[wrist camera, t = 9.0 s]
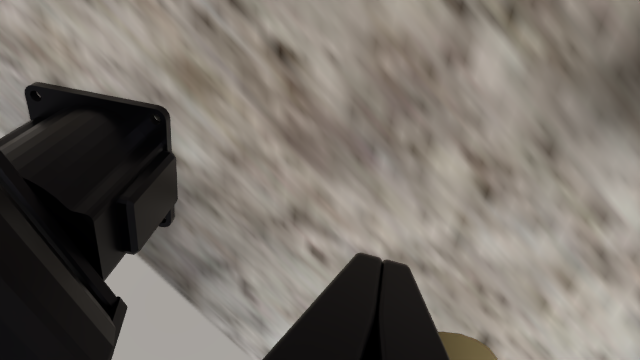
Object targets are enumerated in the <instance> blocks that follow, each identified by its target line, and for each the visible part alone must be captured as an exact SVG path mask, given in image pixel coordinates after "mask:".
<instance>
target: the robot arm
mask: <svg viewBox="0 0 640 360" xmlns="http://www.w3.org/2000/svg"><path fill="white" fill-rule="evenodd" d="M36 91H37V92H38V93H39V94H40V96H41V97H39V96H38V95H37V92H36ZM25 96H26V101H27V105H28V109H29V114H30V118H31V121H29V122H28V123H26V124H24V125H23V126H21V127H19V128H17V129H16V130H14V131H12V132H11V133H9V134H7V135H6V136H4V137H2V138H1V139H0V360H111V359H112V356H113V352H114V349H115V346H116V343H117V339H118V336H119V333H120V330H121V327H122V323H123V320H124V317H125V314H126V310H127V305H126V304H125V303H124V302H123V300H122V299H121V298H120V297H116V296H115V294H114V293H113V292H112V291H111V289H110V288H109V287H108V286H107V284H106V283H105V282H104V281H105V279H106V278H107V277H108V275H109V274H110V273H111V272H112V271H113V269H114V268H115V267H116V265H117V264H118V263H119V262H120V260H121V259H122V258H123V256H124V255H125V254H126V253H128V254H133V255H134V254H136V253H137V252H138V251H140V250H141V248H142V247H143V246H144V244H145V243H146V242H147V240H148V239H149V238H150V236H151V235H152V234H153V232H154V231H155V230H156V228H157V227H158V226H160V227H167V226H169V225H170V224H171V223H172V221H173V220H174V217H175V215H174V204H175V203H176V201H177V199H178V197H177V172H176V157H175V155H174V154H173V153H172V149H171V127H170V115H169V113H168V111H167V110H166V109H165V108H164V107H162V106H159V105H154V104H149V103H144V102H139V101H134V100H129V99H123V98H118V97H113V96H108V95H103V94H97V93H92V92H87V91H82V90H77V89H71V88H66V87H61V86H56V85H51V84H46V83H40V82H35V83H33V84H31V85H29V86H28V87H26V89H25ZM154 114H156V115H158V116H159V117H160V119H161V121H158V120H156V118H155V117H154ZM263 360H450V358H449V356H448V354H447V352H446V349H445V347H444V345H443V343H442V340H441V338H440V336H439V333H438V331H437V329H436V327H435V324H434V322H433V320H432V318H431V315H430V313H429V311H428V309H427V306H426V304H425V302H424V300H423V297H422V295H421V293H420V291H419V288H418V286H417V284H416V281H415V279H414V277H413V275H412V272H411V270H410V268H409V267H408V266H407V265H405V264H402V263H398V262H395V261H391V260H384V261H383V262H382V260H381V259H380V258H379V257H376V256H372V255H368V254H364V253H358V254H356V255H355V256H354V257H353V258H352V259H351V261H350V262H349V263H348V264H347V265H346V266H345V267H344V268H343V270H342V271H341V272H340V273H339V274H338V275H337V276H336V277H335V279H334V280H333V281H332V282H331V283H330V284H329V285H328V286H327V288H326V289H325V290H324V291H323V292H322V293H321V294H320V295H319V297H318V298H317V299H316V300H315V301H314V302H313V303H312V304H311V306H310V307H309V308H308V309H307V310H306V311H305V312H304V313H303V315H302V316H301V317H300V318H299V319H298V320H297V321H296V322H295V324H294V325H293V326H292V327H291V328H290V329H289V330H288V331H287V333H286V334H285V335H284V336H283V337H282V338H281V339H280V340H279V342H278V343H277V344H276V345H275V346H274V347H273V348H272V349H271V351H270V352H269V353H268V354H267V355H266V356H265V357H264V358H263Z"/></svg>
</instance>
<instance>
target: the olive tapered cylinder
mask: <svg viewBox="0 0 640 360" xmlns="http://www.w3.org/2000/svg"><path fill="white" fill-rule="evenodd" d="M438 333H439V336H440V338H441V340H442V343H443V345H444V347H445V349H446V352H447V354H448V356H449V358H450V360H497V358H496V356H495V355H494V354H493V352H492V351H491V350H490V348H488V347H487V346H485V345H484V344H482V343H481V342H479V341H478V340H476V339H473V338H470V337H467V336H464V335H461V334H455V333H446V332H438Z"/></svg>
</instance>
